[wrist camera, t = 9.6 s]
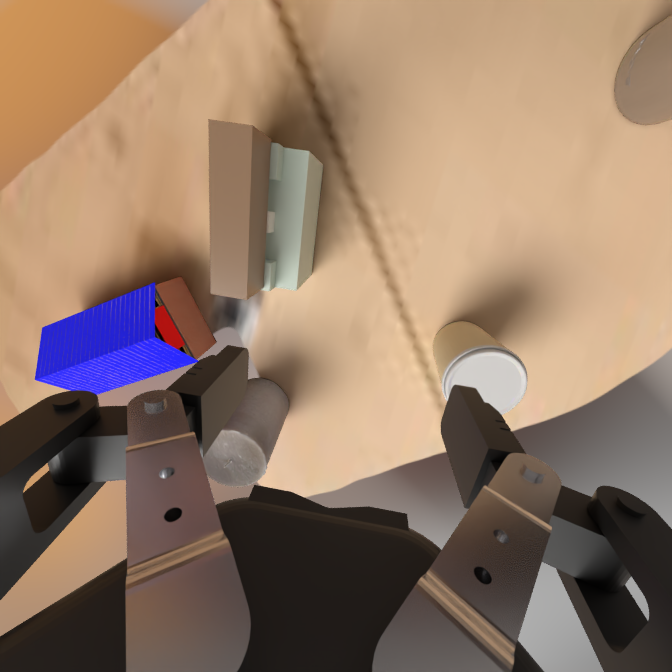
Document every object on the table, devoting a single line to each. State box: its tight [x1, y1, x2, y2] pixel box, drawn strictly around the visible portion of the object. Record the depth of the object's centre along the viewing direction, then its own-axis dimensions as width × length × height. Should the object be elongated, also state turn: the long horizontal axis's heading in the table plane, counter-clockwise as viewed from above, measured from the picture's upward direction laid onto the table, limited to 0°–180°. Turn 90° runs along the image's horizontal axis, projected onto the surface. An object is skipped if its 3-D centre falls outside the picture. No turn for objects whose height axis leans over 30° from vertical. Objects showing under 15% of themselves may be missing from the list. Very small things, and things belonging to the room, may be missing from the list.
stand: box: [261, 142, 323, 291], centre depth 37 cm, size 10×14×12 cm
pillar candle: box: [202, 378, 289, 487], centre depth 47 cm, size 10×10×15 cm
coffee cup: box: [433, 321, 527, 415], centre depth 41 cm, size 9×9×12 cm
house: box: [35, 276, 217, 395], centre depth 46 cm, size 12×20×12 cm, turn 110°
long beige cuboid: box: [209, 119, 271, 300], centre depth 29 cm, size 4×14×5 cm, turn 172°
